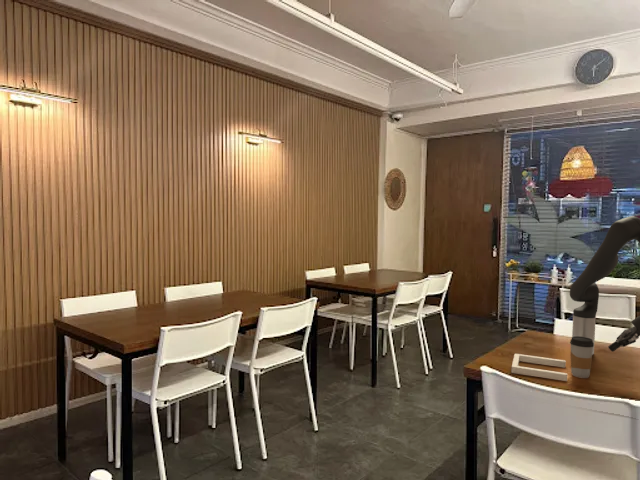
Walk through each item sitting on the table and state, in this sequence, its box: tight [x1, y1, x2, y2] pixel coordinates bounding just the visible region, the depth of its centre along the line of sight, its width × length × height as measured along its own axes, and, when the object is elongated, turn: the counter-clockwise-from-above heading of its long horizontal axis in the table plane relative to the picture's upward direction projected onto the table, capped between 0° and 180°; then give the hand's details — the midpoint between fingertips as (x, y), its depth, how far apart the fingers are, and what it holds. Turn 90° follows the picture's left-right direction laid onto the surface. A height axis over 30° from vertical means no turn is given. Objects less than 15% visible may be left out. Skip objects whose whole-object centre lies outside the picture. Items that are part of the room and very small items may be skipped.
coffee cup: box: [569, 336, 595, 379], centre depth 185 cm, size 8×8×15 cm
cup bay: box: [511, 353, 568, 382], centre depth 192 cm, size 20×20×2 cm
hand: (610, 349), depth 180 cm, fingers closed
